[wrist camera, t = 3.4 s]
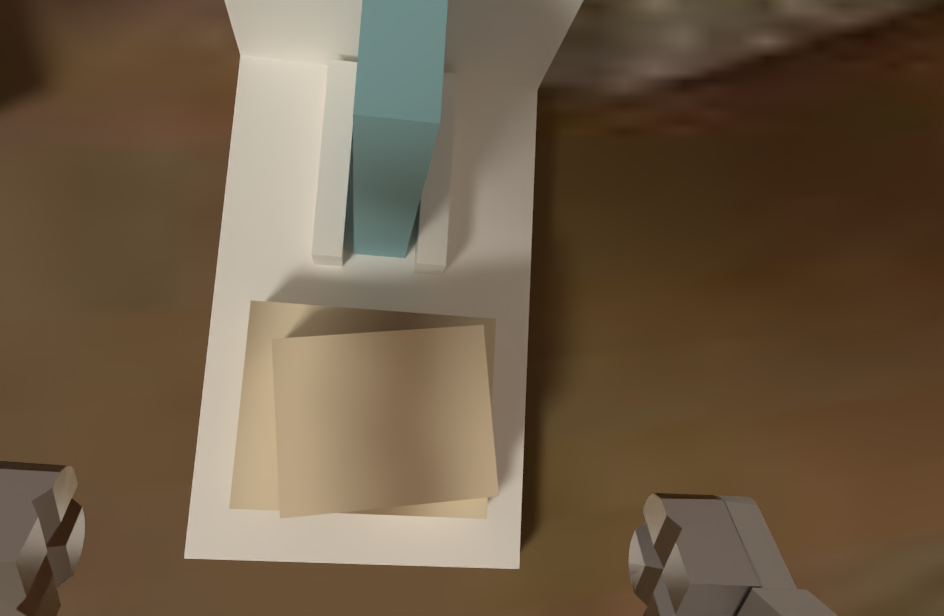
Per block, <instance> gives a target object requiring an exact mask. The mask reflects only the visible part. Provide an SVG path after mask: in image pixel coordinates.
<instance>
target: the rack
mask: <svg viewBox="0 0 944 616" xmlns="http://www.w3.org/2000/svg"><path fill="white" fill-rule="evenodd" d="M224 1H225V4H226V7H227V11H228V14H229V18H230V21H231V25H232V28H233V31H234V35H235V38H236V42H237V45H238V48H239V52H240V55H241V56H240V65H239V74H238V83H237V92H236V101H235V110H234V118H233V127H232V136H231V145H230V154H229V163H228V172H227V181H226V190H225V199H224V207H223V216H222V225H221V234H220V243H219V252H218V261H217V270H216V279H215V288H214V297H213V305H212V314H211V323H210V332H209V341H208V350H207V359H206V368H205V377H204V386H203V394H202V403H201V412H200V421H199V430H198V439H197V448H196V457H195V466H194V475H193V483H192V492H191V501H190V510H189V519H188V528H187V537H186V546H185V555H184V558H187V559H219V560H251V561H282V562H314V563H346V564H377V565H409V566H441V567H472V568H504V569H519V560H520V534H521V508H522V482H523V456H524V430H525V403H526V377H527V351H528V325H529V299H530V273H531V246H532V220H533V194H534V168H535V142H536V116H537V90H538V88H539V86H540V84H541V82H542V80H543V78H544V76H545V74H546V72H547V70H548V68H549V67H550V65H551V63H552V61H553V59H554V57H555V55H556V53H557V51H558V49H559V47H560V45H561V43H562V41H563V39H564V37H565V35H566V33H567V31H568V30H569V28H570V26H571V24H572V22H573V20H574V18H575V16H576V14H577V12H578V10H579V8H580V6H581V4H582V2H583V0H448V7H447V24H446V40H445V56H444V72H443V89H442V105H441V121H440V127H439V131H438V134H437V138H436V142H435V146H434V149H433V153H432V157H431V161H430V164H429V168H428V172H427V176H426V179H425V183H424V187H423V191H422V194H421V198H420V202H419V206H418V210H417V213H416V217H415V221H414V225H413V228H412V232H411V236H410V240H409V243H408V247H407V251H406V255H405V258H396V257H384V256H372V255H360V254H354V219H353V108H354V96H355V84H356V72H357V60H358V48H359V36H360V24H361V12H362V0H224ZM251 300H252V301H265V302H279V303H292V304H305V305H319V306H332V307H345V308H359V309H372V310H385V311H399V312H412V313H425V314H439V315H452V316H465V317H479V318H492V319H496V331H495V353H494V374H493V396H492V424H493V435H494V446H495V457H496V468H497V479H498V490H499V496H497V497H488V505H487V519H473V518H448V517H423V516H398V515H373V514H348V513H330V514H320V515H310V516H301V517H291V518H281V519H280V511H273V510H248V509H229V506H230V496H231V486H232V477H233V467H234V457H235V448H236V438H237V428H238V419H239V409H240V399H241V390H242V380H243V370H244V361H245V351H246V341H247V332H248V322H249V312H250V303H251Z"/></svg>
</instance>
